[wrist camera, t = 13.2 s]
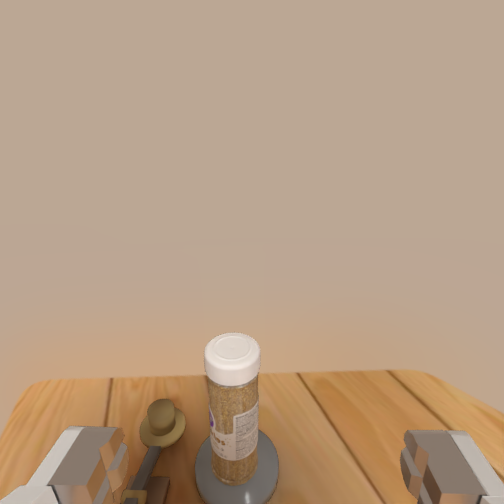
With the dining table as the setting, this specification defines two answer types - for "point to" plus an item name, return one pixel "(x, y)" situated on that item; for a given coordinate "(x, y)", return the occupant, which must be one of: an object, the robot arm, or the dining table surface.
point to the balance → (155, 453)
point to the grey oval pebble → (245, 495)
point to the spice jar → (233, 406)
